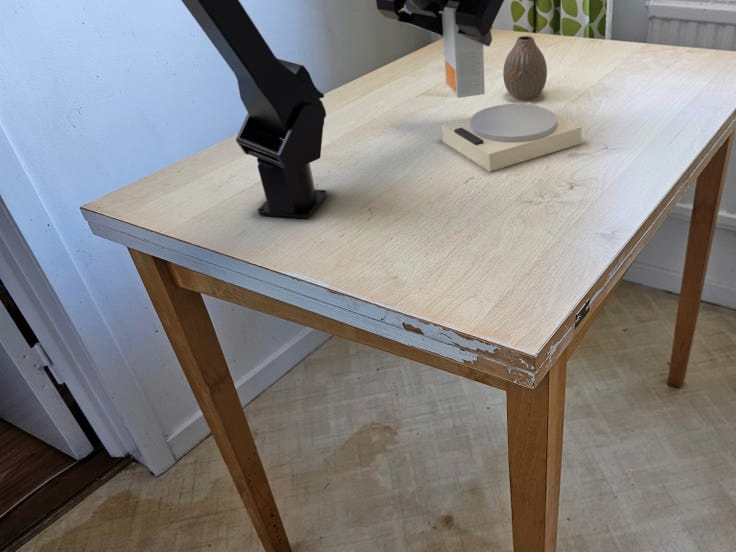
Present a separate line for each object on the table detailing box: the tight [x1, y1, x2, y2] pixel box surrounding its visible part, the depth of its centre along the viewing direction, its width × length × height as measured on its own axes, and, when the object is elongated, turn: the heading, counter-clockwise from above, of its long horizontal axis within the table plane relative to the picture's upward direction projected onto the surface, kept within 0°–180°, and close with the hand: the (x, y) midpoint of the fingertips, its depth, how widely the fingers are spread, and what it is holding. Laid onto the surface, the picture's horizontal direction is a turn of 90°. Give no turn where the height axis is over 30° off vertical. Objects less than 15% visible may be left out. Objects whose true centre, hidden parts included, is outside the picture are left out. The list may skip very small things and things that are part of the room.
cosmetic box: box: [442, 7, 486, 99], centre depth 92 cm, size 6×4×12 cm
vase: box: [502, 35, 548, 101], centre depth 105 cm, size 7×7×9 cm
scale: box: [441, 101, 583, 173], centre depth 92 cm, size 15×12×3 cm
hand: (469, 38), depth 92 cm, fingers closed on cosmetic box, 7 cm apart
